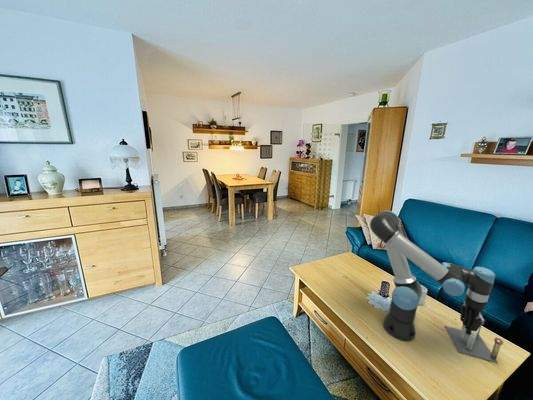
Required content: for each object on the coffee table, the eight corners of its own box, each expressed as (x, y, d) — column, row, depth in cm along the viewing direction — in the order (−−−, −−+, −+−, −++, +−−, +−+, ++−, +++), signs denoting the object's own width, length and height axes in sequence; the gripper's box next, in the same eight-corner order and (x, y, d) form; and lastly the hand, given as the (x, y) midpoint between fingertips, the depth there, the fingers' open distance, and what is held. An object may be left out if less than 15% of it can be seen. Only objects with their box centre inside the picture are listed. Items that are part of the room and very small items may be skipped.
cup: (427, 305, 139) (430, 291, 137) (409, 305, 139) (412, 292, 136) (417, 296, 147) (420, 283, 145) (400, 297, 147) (403, 283, 144)
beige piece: (472, 335, 116) (475, 324, 114) (476, 337, 114) (480, 326, 112) (466, 347, 109) (469, 335, 107) (470, 350, 107) (474, 338, 105)
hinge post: (472, 339, 115) (477, 322, 113) (469, 334, 118) (474, 317, 116) (479, 341, 114) (485, 323, 112) (476, 336, 117) (481, 319, 114)
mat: (458, 352, 108) (458, 351, 107) (444, 326, 123) (445, 325, 123) (497, 363, 102) (497, 362, 102) (478, 335, 118) (478, 334, 118)
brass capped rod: (490, 360, 104) (497, 341, 101) (487, 355, 106) (493, 337, 104) (498, 362, 103) (504, 343, 100) (494, 357, 105) (501, 338, 103)
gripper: (496, 308, 100) (482, 349, 106) (474, 290, 112) (463, 327, 118) (478, 306, 101) (465, 347, 107) (458, 288, 113) (448, 326, 119)
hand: (464, 337), depth 112 cm, fingers closed
